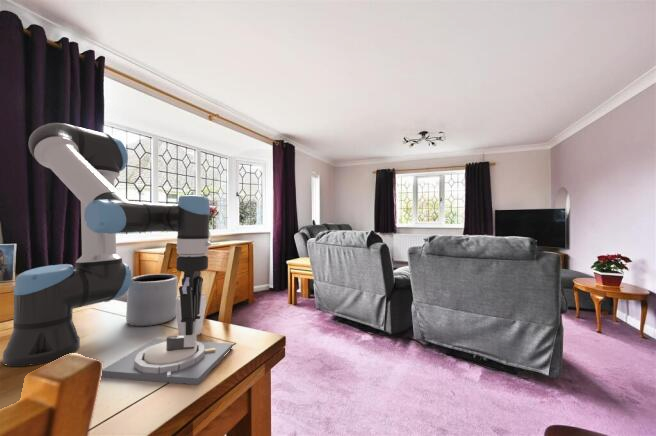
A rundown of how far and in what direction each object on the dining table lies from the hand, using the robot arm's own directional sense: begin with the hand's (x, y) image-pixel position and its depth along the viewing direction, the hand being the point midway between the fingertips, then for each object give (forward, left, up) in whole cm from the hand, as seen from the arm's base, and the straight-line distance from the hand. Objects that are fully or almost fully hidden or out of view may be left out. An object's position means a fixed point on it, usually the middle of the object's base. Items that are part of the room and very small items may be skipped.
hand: (190, 346), depth 77 cm
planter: (-32, +29, -5) cm, 43 cm away
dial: (-5, 0, -3) cm, 6 cm away
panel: (-5, +1, -5) cm, 7 cm away
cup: (-11, +19, -5) cm, 22 cm away
